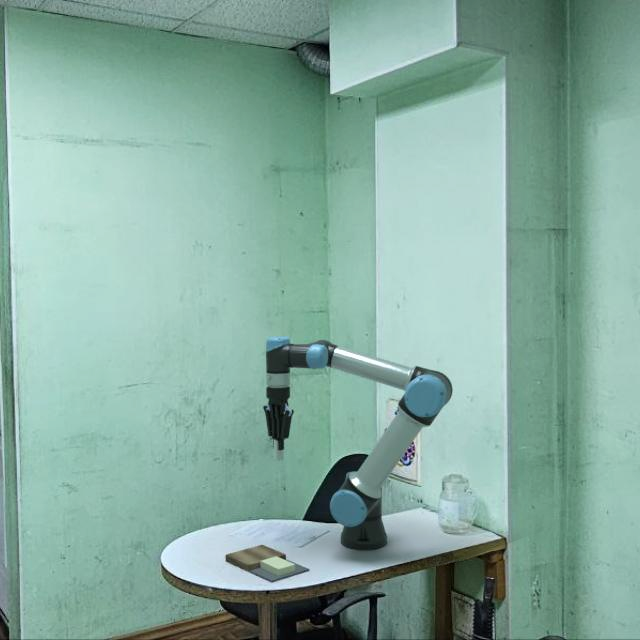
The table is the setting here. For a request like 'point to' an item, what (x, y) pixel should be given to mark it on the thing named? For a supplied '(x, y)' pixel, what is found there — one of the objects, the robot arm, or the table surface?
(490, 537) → the table surface
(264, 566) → the tile
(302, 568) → the mat
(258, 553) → the wooden board
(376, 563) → the table surface
